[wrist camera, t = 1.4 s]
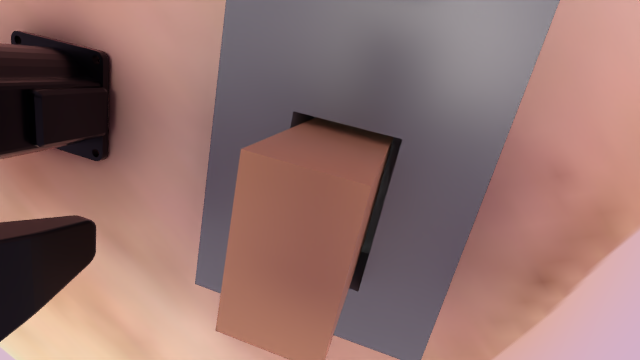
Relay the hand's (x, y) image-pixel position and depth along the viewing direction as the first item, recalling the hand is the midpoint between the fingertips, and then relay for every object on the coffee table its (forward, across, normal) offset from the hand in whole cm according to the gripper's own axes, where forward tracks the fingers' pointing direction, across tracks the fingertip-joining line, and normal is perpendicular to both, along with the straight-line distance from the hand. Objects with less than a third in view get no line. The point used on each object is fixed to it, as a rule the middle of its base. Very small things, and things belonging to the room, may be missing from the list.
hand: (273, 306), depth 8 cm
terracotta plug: (+11, +1, +1) cm, 11 cm away
